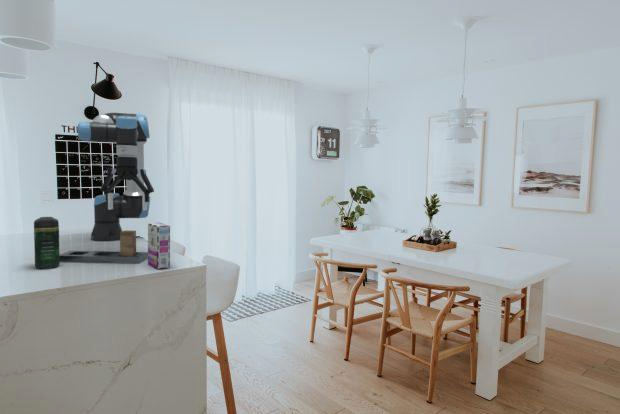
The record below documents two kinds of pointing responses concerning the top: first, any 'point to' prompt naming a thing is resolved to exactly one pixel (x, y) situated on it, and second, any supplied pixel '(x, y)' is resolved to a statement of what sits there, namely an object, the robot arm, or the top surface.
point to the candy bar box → (159, 245)
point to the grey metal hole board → (102, 257)
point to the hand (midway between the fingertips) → (127, 209)
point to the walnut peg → (127, 243)
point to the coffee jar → (46, 242)
